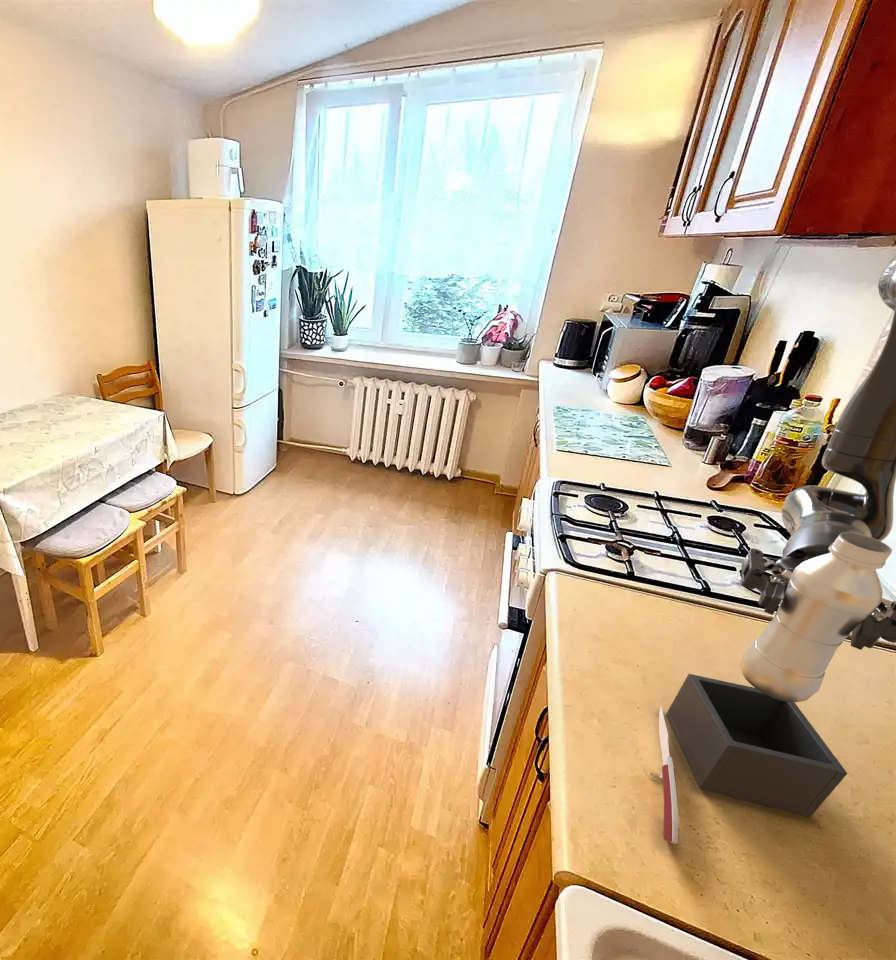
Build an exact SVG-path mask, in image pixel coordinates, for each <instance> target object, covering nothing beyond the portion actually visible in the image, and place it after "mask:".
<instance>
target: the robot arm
mask: <svg viewBox="0 0 896 960" xmlns="http://www.w3.org/2000/svg"><path fill="white" fill-rule="evenodd" d="M877 288H878V295H879V296H880V299H881V301H882V302H883V303H884V304H885V305H886V306H887V308H889V309H891V310H892V311H893V316H892V319H891V324H890V327H889V331H888V335H887V338H886V340H885V343H884V345H883V348H882V350H881V352H880V354H879V356H878V358H877V359H876V361H875V363H874V365H873V366H872V368H871V370H870V371H869V373H868V375H867V376H866V377H865V378H864V380H863V381H862V383H861V384H860V385H859V387H858V388H857V390H856V391H855V392H854V393H853V395H852V396H851V397H850V399H849V401H848V403H847V404H846V406H845V408H844V409H843V411H842V413H841V415H840V417H839V419H838V420H837V423H836V425H835V428H834V429H833V432H832V434H831V437H830V439H829V442H828V443H827V447H826V448H825V451H824V453H823V455H822V459H821V466H822V467H823V468H824V469H825V470H827V471H829V472H831V473H833V474H836V475H838V476H841V477H844V478H847V479H848V480H852V481H854V482H856V483H859V484H860V485H861V486H862V487H863V488H864V491H865V493H864V494H863V493H862V494H861V493H857V492H852V491H848V490H847V491H846V490H843V489H837V488H831V487H827V486H823V485H814V484H813V485H812V484H811V485H803V486H799V487H798V488H796V489H794V490H792V491H791V492H789V493H788V495H787V496H786V497H785V499H784V501H783V503H782V508H781V518H782V522H783V525H784V527H785V529H786V531H787V532H788V533H789V534H790V536H789V538H788V539H787V541H786V544H785V546H784V547H783V549H782V556H781V558H779V559H777V560H772V559H770V558H769V557H768V556H765V555H764V552H763V551H762V550H759V549H757V548H750V549H749V551H748V552H747V555H746V556H745V557H744V560H743V561H742V564H741V569H740V570H741V571H740V572H741V576H740V577H741V580H740V581H741V586H742V587H744V588H746V589H749V590H755V589H756V590H758V591H759V592H760V596H759V599H758V602H757V603H758V605H759V606H760V607H763V608H764V610H763V612H764V613H766V614H768V615H771V616H773V615H774V614H775V613H776V611H777V610H778V608H779V606H780V604H781V602H782V600H783V598H784V595H785V592H786V589H787V587H788V584H789V581H790V579H791V575H792V573H793V571H794V569H795V568H796V567H797V566H798V565H800V564H801V563H802V562H804V561H806V560H809V559H812V558H814V557H817V556H821V555H825V554H828V553H830V551H829V547H830V545H831V544H832V543H834V542H835V540H836V539H837V537H838V536H839V535H840V533H843V532H852V533H857V534H862V535H865V536H868V537H871V538H874V539H876V540H879V541H881V542H883V541H884V540H885V539H886V538H887V537H888V536H889V535H890V534H891V531H892V529H893V525H894V494H895V486H896V255H895V256H893V257H892V259H891V260H889V262H887V264H886V265H885V267H884V268H883V270H882V271H881V273H880V276H879V278H878V285H877ZM767 571H771V573H772V575H771V576H768V575H767V574H765V572H767ZM880 639H882V640H884V641H886V642H889V643H893V644H896V600H894V601H891V600H889V599H887V598H884V597H882V600H881V603H880V604H879V606H878V607H877V608H876V609H875V610H874V611H872V613H871V614H870V615H868V616H867V617H866V618H865V619H864V620H863V621H862V622H861V623H860V624H859V625H858V626H856V627H855V628H854V629H853V631H852V632H851V636H850V647H853V648H854V649H858V650H860V651H861V650H863V648H867V649H872V648H874V646H875V645H876V644H877V642H878V641H879V640H880Z"/></svg>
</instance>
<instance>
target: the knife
mask: <svg viewBox="0 0 896 960" xmlns="http://www.w3.org/2000/svg"><path fill="white" fill-rule="evenodd" d="M659 706H660V707H659V711H658V712H659V713H658V733H659V745H660V751H661V759H662V767H661V772H660V775H659V779H660V780H662V789H663V791H662V792H663V793H662V794H663V819H662V823H663V825H662V826H663V840H665V841H666V842H669V843H671V844H673V845H675V846H677V847H678V846H679V838H680V826H679V805H678V791H677V777H676V770H675V768H674V763H673V761H674V760H673V757H671V755H670V748H669V733H668V729H667V725H666V720H665V715H664V712H663V708H662V704H660V705H659Z"/></svg>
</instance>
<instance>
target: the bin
mask: <svg viewBox="0 0 896 960" xmlns="http://www.w3.org/2000/svg"><path fill="white" fill-rule="evenodd" d="M665 717H666V719H667V721H668V723H669V725H670V728H671V730H672V732H673V734H674V736H675V738H676V740H677V743H678V745H679V747H680V749H681V751H682V753H683V756H684V758H685V761H686V762H687V764H688V767H689V769H690V771H691V773H692V775H693V777H694V780H695V782H696V784H697V786H698V789H700V790H704V791H708V792H712V793H716V794H720V795H723V796H727V797H731V798H734V799H739V800H743V801H746V802H749V803H754V804H758V805H762V806H765V807H769V808H774V809H777V810H781V811H784V812H789V813H792V814H796V815H800V816H804V817H807V818H812V816H813V815H814V814H815V812H816V811H817V810H818V809H819V808H820V806H822V804H823V803H824V802H825V801H826V799H827V798H828V797H829V796H830V795H831V794H832V793H833V791H834V790H835V789H836V788H837V787H838V785H839V784H840V783H841V782H842V781H843V780H844V779H845V778H846V776H847V775H848V772H847V771H846V769H845V767H843V765H842V764H841V763H840V761H839V760H838V759H837V757H836V756H835V755H834V753H833V752H832V750H831V749H830V748H829V746H828V745H827V744H826V742H825V740H823V738H822V737H821V736H820V735H819V733H818V731H817V730H816V729H815V728H814V726H813V725H812V724H811V722H810V721H809V720H808V719H807V717H806V716H805V714H804V712H802V710H801V709H800V707H798V705H797V703H796V702H793V703H791V702H784V701H780V700H777V699H775V698H772V697H770V696H768V695H766V694H764V693H762V692H761V691H759V690H757V689H756V688H755V687H753V686H749V685H744V684H738V683H734V682H729V681H724V680H720V679H715V678H710V677H706V676H701V675H697V674H693V673H688V674H687V676H686V678H685V680H684V681H683V683H682V685H681V686H680V688H679V690H678V692H677V694H676V696H675V697H674V699H673V701H672V702H671V704H670V706H669V708H668V710H667V711H666V714H665Z"/></svg>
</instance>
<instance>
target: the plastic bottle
mask: <svg viewBox="0 0 896 960" xmlns="http://www.w3.org/2000/svg"><path fill="white" fill-rule="evenodd" d="M829 551H830V553H828V554H825V555H821V556H817V557H814V558H812V559H809V560H806V561H804V562H802V563H801V564H800V565H798V566H797V567H796V568H795V569H794V571H793V573H792V575H791V579H790V581H789V584H788V587H787V589H786V592H785V595H784V598H783V599H782V600H781V602H780V604H779V605H778V607H777V610H776V611H775V613H774V616H773V618H772V619H771V621H770V622H769V623H768V625H767V626H766V627H765V628H764V630H763V631H762V632H761V633H760V634H759V636H758V637H757V638H755V639H754V640H753V641H752V642H750V644H749V645H748V646H747V647H746V648H745V649H744V650H743V652H742V655H741V658H740V661H739V667H740V671H741V673H742V677H744V679H745V680H746V681H747V683H749V685H751V687H753V688H756V689H757V690H759V691H761V692H762V693H764V694H766V695H768V696H770V697H772V698H775V699H777V700H780V701H784V702H791V703H793V702H795V703H802V702H805V701H809V699H810V698H812V697H813V696H814V695H815V694H817V693H818V692H819V690H820V688H821V686H822V685H823V684H822V683H823V681H824V679H825V675H826V670H827V669H828V668H829V667H828V666H829V665H830V663H831V661H832V659H833V657H834V656H835V654H836V651H837V650H838V649H839V647H840V646H841V645H842V644H843V641H845V640H846V639H847V638H848V637H849V635H850V634H852V631H853V629H854V628H855V627H856V626H858V625H859V624H860V623H861V622H862V621H863V620H864V619H865V618H866V617H867V616H868V615H870V614H871V613H872V611H874V610H875V609H877V607H878V606H879V604H880V603H881V600H882V598H883V594H884V590H883V588H882V583H881V580H880V577H879V574H878V573H877V570H880V569H882V568H884V567H885V565H886V564H887V562H886V561H887V560H888V558H889V557H890V556H891V555H892V552H893V549H892V548H891V547H890V546H889V545H888V544H887V543H885V542H884V541H879V540H876V539H874V538H871V537H868V536H865V535H862V534H857V533H852V532H843V533H840V535H839V536H838V537H837V539H836V540H835V542H834V543H832V544H831V545H830V547H829Z"/></svg>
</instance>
